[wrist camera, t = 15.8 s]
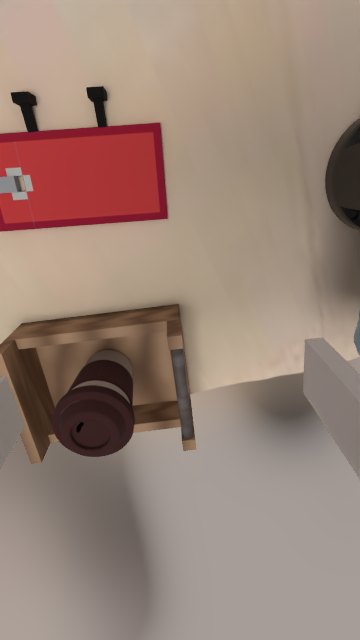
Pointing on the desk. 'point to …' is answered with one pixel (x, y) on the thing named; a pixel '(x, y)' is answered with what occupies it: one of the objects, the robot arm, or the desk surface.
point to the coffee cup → (97, 407)
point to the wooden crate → (72, 355)
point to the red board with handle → (80, 172)
